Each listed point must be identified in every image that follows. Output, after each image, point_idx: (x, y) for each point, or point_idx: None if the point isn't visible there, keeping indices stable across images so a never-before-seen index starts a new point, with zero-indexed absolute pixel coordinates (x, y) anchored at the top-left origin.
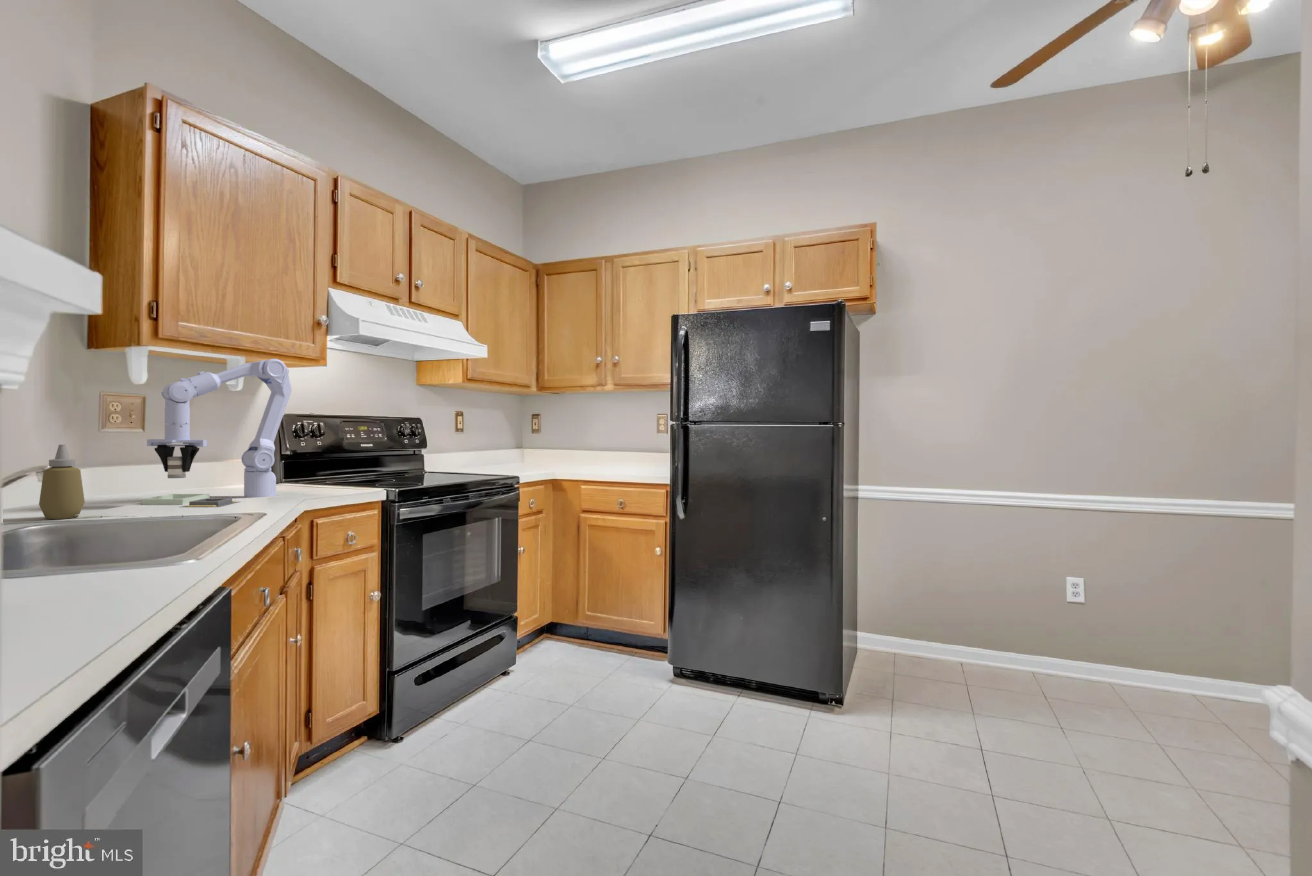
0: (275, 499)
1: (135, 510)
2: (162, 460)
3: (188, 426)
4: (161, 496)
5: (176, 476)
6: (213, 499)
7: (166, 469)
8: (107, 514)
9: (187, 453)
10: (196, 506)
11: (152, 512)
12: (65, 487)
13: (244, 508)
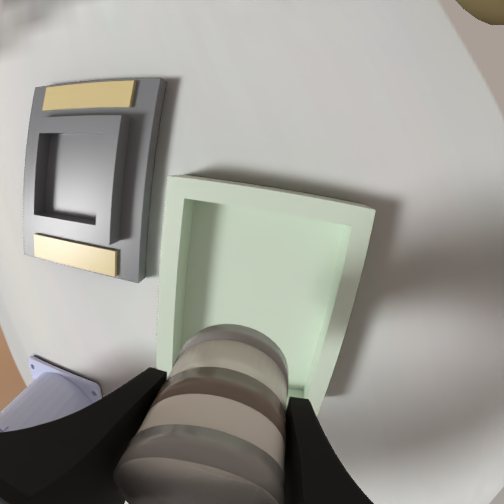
0: (29, 379)
1: (359, 129)
2: (329, 464)
3: None
4: (326, 332)
5: (208, 332)
6: (72, 220)
7: (294, 405)
8: (399, 26)
9: (13, 435)
10: (94, 83)
11: (252, 46)
12: None
13: (2, 154)
